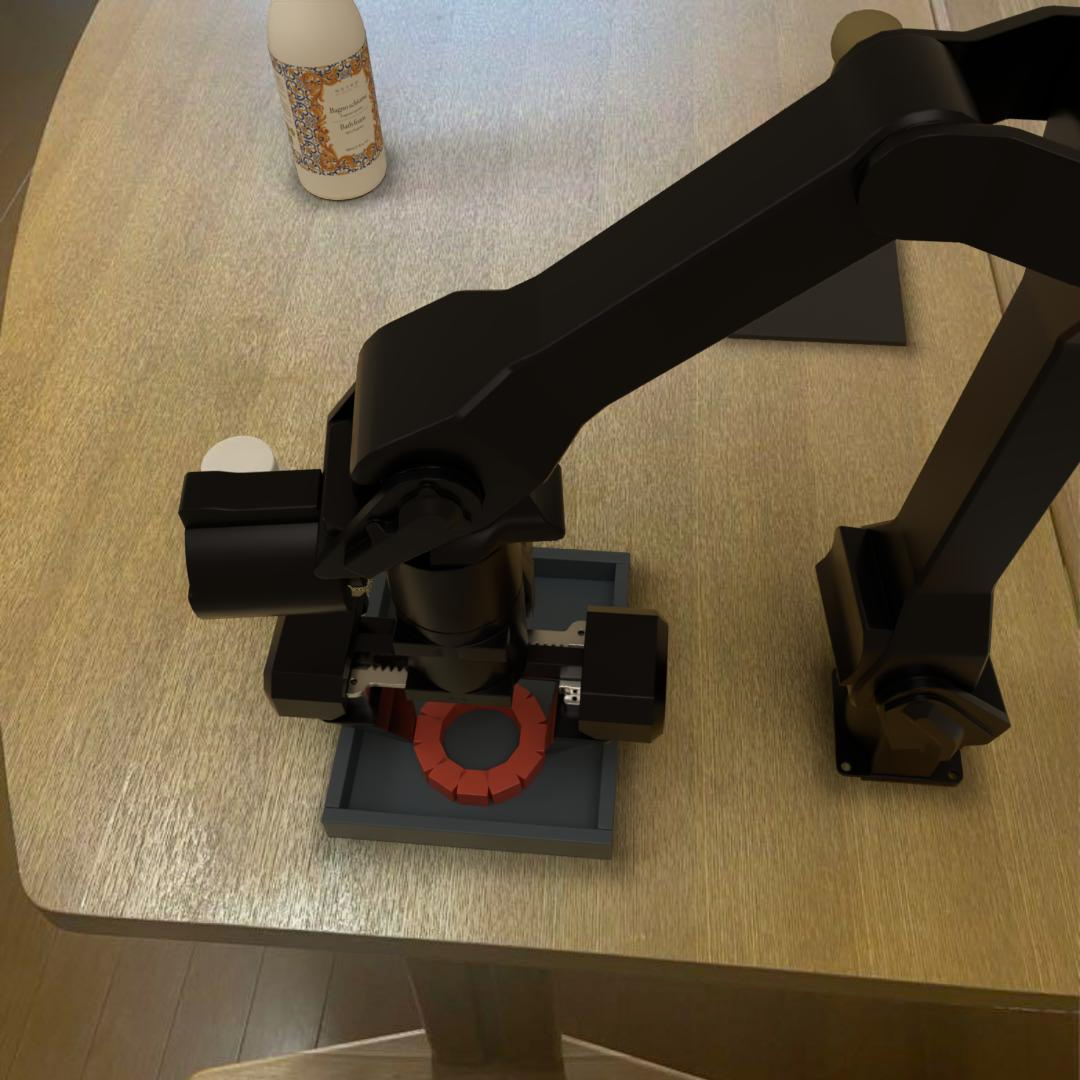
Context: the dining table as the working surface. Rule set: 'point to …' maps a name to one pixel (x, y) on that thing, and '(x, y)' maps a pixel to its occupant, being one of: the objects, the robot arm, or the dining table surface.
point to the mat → (842, 307)
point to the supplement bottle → (241, 456)
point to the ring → (479, 783)
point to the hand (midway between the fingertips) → (481, 739)
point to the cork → (859, 30)
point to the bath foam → (327, 95)
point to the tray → (490, 748)
